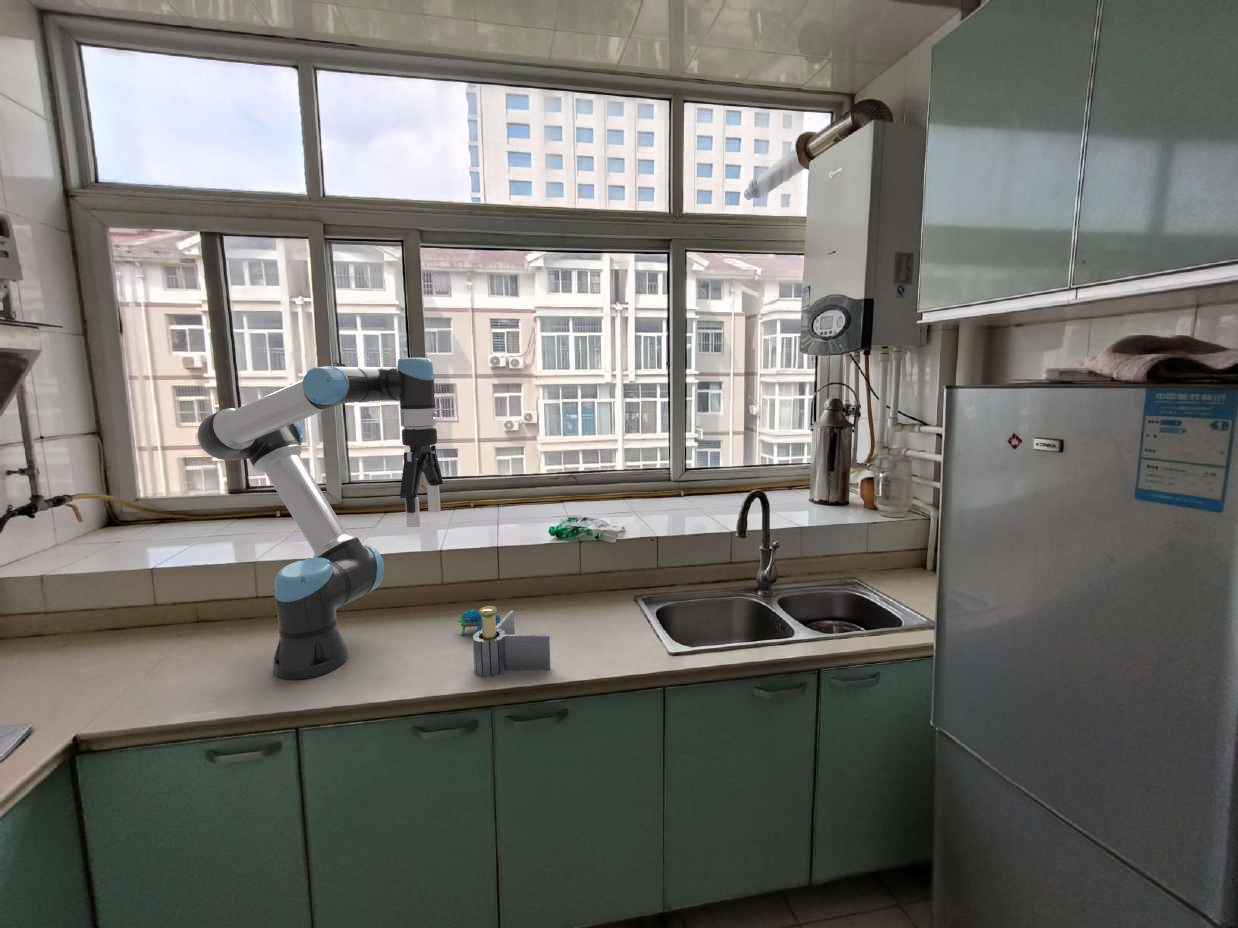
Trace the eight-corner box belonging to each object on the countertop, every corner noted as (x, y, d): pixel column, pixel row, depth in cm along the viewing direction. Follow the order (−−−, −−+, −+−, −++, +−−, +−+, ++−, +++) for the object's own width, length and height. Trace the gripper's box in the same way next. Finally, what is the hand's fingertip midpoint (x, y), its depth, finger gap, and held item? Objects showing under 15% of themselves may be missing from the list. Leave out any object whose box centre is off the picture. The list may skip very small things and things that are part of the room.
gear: (507, 620, 151) (491, 605, 144) (504, 642, 148) (487, 628, 140) (469, 622, 154) (451, 608, 146) (464, 644, 150) (446, 630, 142)
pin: (480, 672, 128) (477, 612, 126) (484, 664, 132) (481, 605, 130) (497, 672, 128) (494, 612, 126) (501, 664, 132) (498, 605, 130)
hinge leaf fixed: (471, 676, 126) (469, 642, 125) (479, 660, 133) (477, 628, 132) (548, 676, 126) (547, 642, 125) (552, 661, 133) (551, 628, 132)
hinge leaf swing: (499, 660, 133) (497, 627, 132) (495, 660, 134) (494, 627, 132) (514, 640, 143) (513, 610, 142) (511, 640, 143) (510, 610, 142)
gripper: (415, 432, 117) (421, 533, 121) (452, 422, 142) (456, 506, 145) (378, 433, 118) (385, 533, 121) (422, 422, 142) (427, 506, 145)
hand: (424, 518), depth 133 cm, fingers open, 13 cm apart
